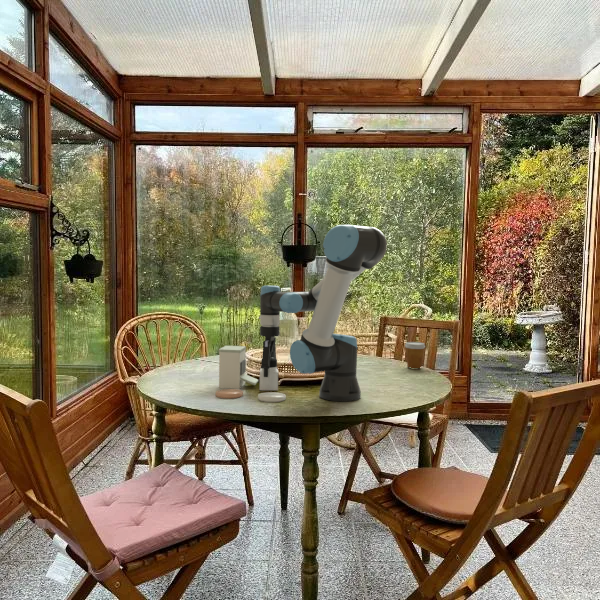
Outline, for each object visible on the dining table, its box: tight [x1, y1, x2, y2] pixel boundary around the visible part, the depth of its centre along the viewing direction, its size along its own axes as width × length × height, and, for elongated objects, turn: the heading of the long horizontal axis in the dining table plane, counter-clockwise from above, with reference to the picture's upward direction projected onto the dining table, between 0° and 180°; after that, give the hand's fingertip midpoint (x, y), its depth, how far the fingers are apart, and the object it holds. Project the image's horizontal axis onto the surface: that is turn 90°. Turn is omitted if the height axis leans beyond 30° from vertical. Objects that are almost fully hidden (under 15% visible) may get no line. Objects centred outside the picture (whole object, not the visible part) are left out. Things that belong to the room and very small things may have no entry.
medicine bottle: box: [259, 357, 279, 391], centre depth 215 cm, size 7×7×12 cm
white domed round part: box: [257, 391, 287, 403], centre depth 199 cm, size 10×10×1 cm
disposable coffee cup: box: [404, 341, 426, 368], centre depth 264 cm, size 10×10×12 cm
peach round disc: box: [215, 388, 244, 400], centre depth 203 cm, size 10×10×1 cm
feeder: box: [218, 345, 259, 390], centre depth 218 cm, size 14×10×15 cm
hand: (268, 382), depth 215 cm, fingers open, 11 cm apart
